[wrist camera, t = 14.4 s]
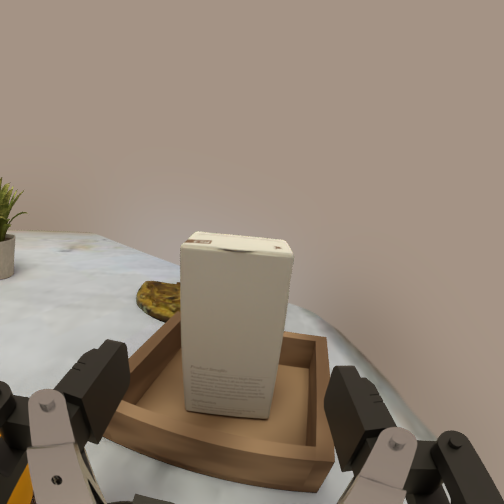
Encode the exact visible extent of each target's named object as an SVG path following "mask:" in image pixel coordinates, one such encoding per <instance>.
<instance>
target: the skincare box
mask: <svg viewBox="0 0 504 504" xmlns="http://www.w3.org/2000/svg"><path fill="white" fill-rule="evenodd" d="M293 261H294V255H293V253H292V251H291V249H290V247H289V245H288V244H287V242H285V240H277V239H268V238H259V237H249V236H239V235H228V234H217V233H206V232H195V233H194V234H193V235H192V236H191V237H190V238H189V239H188V240H187V241H186V242H185V243H183V244H182V245H181V248H180V306H181V346H182V368H183V385H184V402H185V409H186V410H188V411H193V412H201V413H208V414H216V415H225V416H235V417H247V418H262V419H268V418H269V414H270V408H271V403H272V398H273V392H274V386H275V381H276V375H277V370H278V364H279V358H280V352H281V346H282V339H283V333H284V326H285V319H286V312H287V305H288V297H289V287H290V279H291V273H292V267H293Z"/></svg>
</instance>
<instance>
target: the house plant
mask: <svg viewBox="0 0 504 504" xmlns="http://www.w3.org/2000/svg"><path fill="white" fill-rule="evenodd" d="M1 183H2V178H1V179H0V279H5V278H8V277H11V276H12V275H13V274H14V249H15V236H14V235H11V234H6V232H7V229H8V228H9V227H10V226H11V225H10V222H11V221H12V220H13V219H14V218H15V217H16V216H18V215H19V214H22V213H26V212H21V213H19V214H17V215H16V216H14V217H13V218H12V219H11V221H10V222H9V224H7V223H8V221H9V220H10V219H7V218H8V215H9V213H10V210H11V208H12V206H13V205H14V203H15V202H16V201H17V199H18V197H19V196H20V195H21V193H23V192H21V193H20V194H19V195H18V196H17V197H16V198H15V200H14V197H15V194H16V192H17V191H16V192H15V194H14V196H13V197H12V199H11V202H10V204H9V200H10V197H11V194H12V190H13V187H12V189H11V190H9V191H8V187H9V185H8V184H6V185H4V187H3V188H2V190H1ZM7 191H8V192H7ZM6 193H7V194H6ZM13 200H14V201H13Z"/></svg>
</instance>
